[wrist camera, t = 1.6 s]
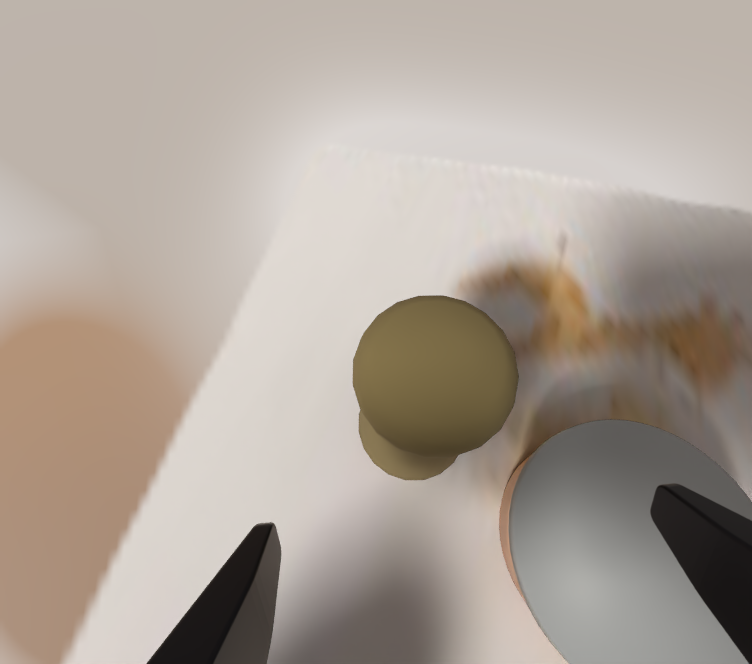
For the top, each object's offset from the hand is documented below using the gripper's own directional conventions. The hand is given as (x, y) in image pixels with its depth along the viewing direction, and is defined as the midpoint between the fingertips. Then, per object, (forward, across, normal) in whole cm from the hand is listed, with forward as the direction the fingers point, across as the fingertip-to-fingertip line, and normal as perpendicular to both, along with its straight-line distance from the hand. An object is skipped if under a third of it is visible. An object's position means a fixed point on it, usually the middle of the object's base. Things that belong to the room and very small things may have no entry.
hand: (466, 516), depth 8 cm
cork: (+11, 0, +5) cm, 12 cm away
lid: (+4, -8, +7) cm, 11 cm away
